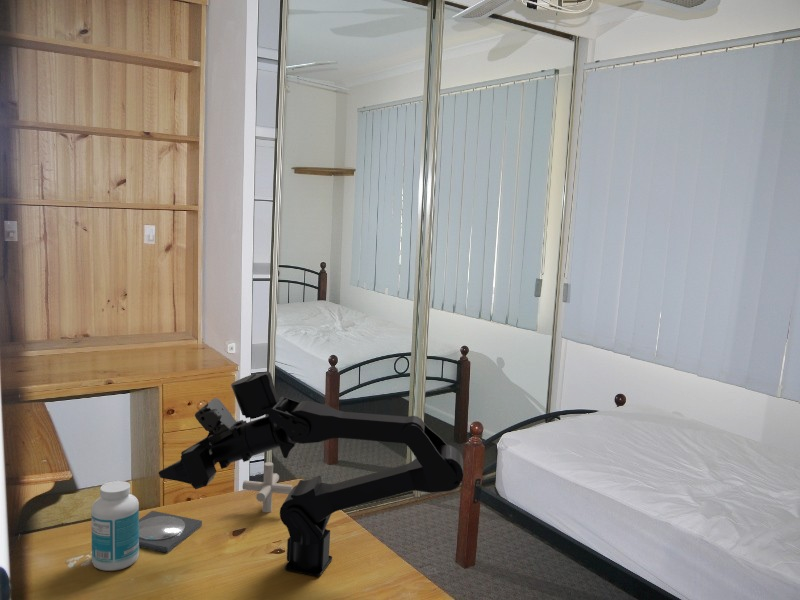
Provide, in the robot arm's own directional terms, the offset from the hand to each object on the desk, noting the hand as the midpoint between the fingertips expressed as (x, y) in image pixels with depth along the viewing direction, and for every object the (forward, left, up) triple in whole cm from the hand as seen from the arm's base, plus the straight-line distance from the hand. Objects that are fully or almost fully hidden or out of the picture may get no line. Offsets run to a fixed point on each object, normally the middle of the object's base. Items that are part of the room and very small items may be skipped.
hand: (171, 464), depth 117 cm
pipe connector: (-9, -20, -16) cm, 28 cm away
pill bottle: (+6, +7, -16) cm, 18 cm away
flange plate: (+5, -4, -16) cm, 17 cm away
